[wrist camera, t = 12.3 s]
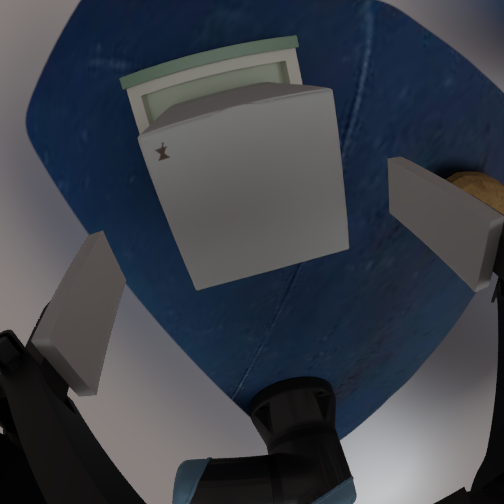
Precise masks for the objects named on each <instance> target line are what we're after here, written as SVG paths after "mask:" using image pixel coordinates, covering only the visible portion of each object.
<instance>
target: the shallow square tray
mask: <svg viewBox="0 0 504 504" xmlns="http://www.w3.org/2000/svg"><path fill="white" fill-rule="evenodd" d="M297 47H299V44H298V40H297V35H296V36H287V37H280V38H272V39H266V40H259V41H253V42H248V43H242V44H237V45H232V46H227V47H223V48H218V49H214V50H209V51H205V52H201V53H197V54H193V55H190V56H186V57H182V58H179V59H175V60H172V61H169V62H165V63H162V64H159V65H156V66H153V67H150V68H147V69H144V70H141V71H138V72H135V73H132V74H130V75H127V76H124V77H122V78H120V81H121V85H122V89H127V93H128V96H129V100H130V103H131V107H132V110H133V114H134V117H135V120H136V124H137V127H138V130H139V133H140V134H141V133H142V132H143V131H144V130H146V129H147V128H148V127H149V126H150V125H151V124H152V123H153V122H154V121H155V120H156V119H157V118H158V117H159V116H160V115H161V114H162V113H164V112H165V111H166V110H167V109H168V108H169V107H170V106H172V105H175V104H178V103H181V102H185V101H188V100H191V99H195V98H199V97H202V96H206V95H210V94H213V93H217V92H221V91H225V90H229V89H234V88H238V87H242V86H247V85H252V84H257V83H262V82H273V83H287V84H299V85H302V80H301V75H300V70H299V65H298V60H297V55H296V50H295V48H297Z"/></svg>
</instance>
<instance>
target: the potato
mask: <svg viewBox="0 0 504 504" xmlns="http://www.w3.org/2000/svg"><path fill="white" fill-rule="evenodd" d="M445 180H446V181H448V182H450V183H452V184H453V185H455V186H457V187H459V188H460V189H462V190H464V191H465V192H467V193H469V194H470V195H473V196H475V197H476V198H478V199H480V200H481V201H483V203H486V204H488V205H489V206H490V207H492V208H494V209H495V210H497V211H498V212H500V213H501V214H503V215H504V185H503V184H502V183H501V182H500V181H498V180H496V179H494V178H492V177H490V176H488V175H486V174H485V173H480V172H457V173H455V174H453V175H452V176H450V177H448V178H447V179H445Z"/></svg>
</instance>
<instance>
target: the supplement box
mask: <svg viewBox="0 0 504 504" xmlns="http://www.w3.org/2000/svg"><path fill="white" fill-rule="evenodd" d="M138 142H139V145H140V148H141V151H142V154H143V157H144V159H145V162H146V165H147V168H148V171H149V174H150V176H151V179H152V182H153V184H154V187H155V190H156V192H157V195H158V198H159V200H160V203H161V205H162V208H163V210H164V213H165V216H166V218H167V221H168V223H169V226H170V228H171V231H172V233H173V236H174V238H175V241H176V243H177V246H178V248H179V250H180V253H181V255H182V258H183V260H184V263H185V265H186V267H187V270H188V272H189V274H190V277H191V279H192V281H193V284H194V286H195V289H196V290H201V289H204V288H208V287H212V286H215V285H219V284H223V283H227V282H230V281H234V280H238V279H242V278H245V277H249V276H253V275H257V274H260V273H264V272H268V271H272V270H275V269H279V268H282V267H286V266H290V265H293V264H297V263H300V262H304V261H308V260H311V259H315V258H318V257H322V256H325V255H329V254H333V253H336V252H340V251H343V250H347V249H349V240H348V223H347V214H346V202H345V191H344V181H343V172H342V162H341V153H340V144H339V135H338V127H337V119H336V111H335V104H334V97H333V91H332V89H330V88H325V87H318V86H309V85H299V84H287V83H273V82H262V83H257V84H252V85H247V86H242V87H238V88H234V89H229V90H225V91H221V92H217V93H213V94H210V95H206V96H202V97H199V98H195V99H191V100H188V101H185V102H181V103H178V104H175V105H172V106H170V107H169V108H168V109H167V110H166V111H165V112H164V113H162V114H161V115H160V116H159V117H158V118H157V119H156V120H155V121H154V122H153V123H152V124H151V125H150V126H149V127H148V128H147V129H146V130H144V131H143V132H142V133H141V134H140V135H139V136H138Z"/></svg>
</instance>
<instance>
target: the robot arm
mask: <svg viewBox="0 0 504 504" xmlns="http://www.w3.org/2000/svg"><path fill="white" fill-rule="evenodd" d="M388 178H389V213H391V214H392V215H393V216H394V217H395V218H396V219H398V220H399V221H400V222H401V223H402V224H403V225H405V226H406V227H407V228H408V229H409V230H410V231H411V232H413V233H414V234H415V235H416V236H417V237H418V238H419V239H420V240H422V241H423V242H424V243H425V244H426V245H427V246H428V247H429V248H430V249H431V250H432V251H433V252H435V253H436V254H437V255H438V256H439V257H440V258H441V259H442V260H443V261H444V262H445V263H446V264H447V265H448V266H449V267H450V268H451V269H452V270H453V271H454V272H455V273H456V274H457V275H458V276H459V277H460V278H461V279H462V280H463V281H464V282H465V283H466V284H467V285H468V286H469V287H470V288H471V289H472V290H473V291H474V292H477V291H479V290H481V289H483V288H485V287H487V286H489V283H490V280H491V276H492V272H494V273H495V274H497V275H498V276H499V277H498V281H497V284H496V287H495V291H494V294H493V297H492V301H491V302H494V301H495V298H496V297H497V303H498V368H497V369H498V370H497V383H496V395H495V403H494V412H493V419H492V425H491V431H490V437H489V442H488V448H487V452H486V456H485V458H484V461H483V462H482V464H481V466H480V468H479V470H478V471H477V474H476V476H475V478H474V481H473V484H472V487H471V491H469V492H466V490H465V487H463V488H461V489H459V490H458V491H456V492H454V493H452V494H451V495H449V496H447V497H445V498H444V499H442V500H440V501H438V502H436V503H434V504H504V215H503V214H501V213H500V212H498V211H497V210H495V209H494V208H492V207H490V206H489V205H488V204H486V203H483V201H481V200H480V199H478V198H476V197H475V196H473V195H470V194H469V193H467V192H465V191H464V190H462V189H460V188H459V187H457V186H455V185H453V184H452V183H450V182H448V181H446V180H445V179H443V178H441V177H439V176H437V175H436V174H434V173H432V172H430V171H428V170H426V169H424V168H423V167H421V166H419V165H417V164H415V163H413V162H411V161H409V160H407V159H405V158H403V157H395V158H390V159H388ZM125 283H126V279H125V277H124V275H123V273H122V271H121V269H120V267H119V264H118V262H117V260H116V258H115V256H114V254H113V252H112V250H111V248H110V245H109V243H108V241H107V239H106V237H105V234H104V232H103V231H100V232H97V233H94V234H91V235H89V236H88V237H87V239H86V240H85V242H84V244H83V245H82V247H81V248H80V250H79V252H78V253H77V255H76V257H75V258H74V260H73V262H72V263H71V265H70V267H69V268H68V270H67V272H66V274H65V276H64V277H63V279H62V281H61V283H60V284H59V286H58V288H57V290H56V292H55V294H54V295H53V297H52V299H51V301H50V302H49V303H48V304H47V305H46V307H45V308H44V310H43V311H42V313H41V316H40V319H38V321H37V323H36V327H34V329H33V332H32V334H31V336H30V338H29V340H28V342H27V344H26V346H25V347H24V346H23V344H22V343H21V342H20V340H19V339H18V338H17V336H16V335H15V334H14V332H13V331H12V330H6V331H3V332H1V333H0V426H1V427H2V428H3V434H1V433H0V504H146V503H145V502H144V500H143V499H142V498H141V497H140V496H139V495H138V494H137V492H136V491H135V490H134V489H133V487H132V486H131V485H130V484H129V483H128V481H127V480H126V479H125V478H124V476H123V475H122V474H121V472H119V470H118V469H117V467H116V466H115V465H114V463H113V462H112V461H111V459H110V458H109V457H108V455H107V454H106V452H105V451H104V449H103V448H102V447H101V445H100V444H99V442H98V441H97V440H96V438H95V436H94V435H93V433H92V432H91V430H90V429H89V427H88V426H87V424H86V422H85V421H84V419H83V418H82V416H81V414H80V413H79V411H78V410H77V408H76V406H75V404H74V402H73V401H72V400H71V399H70V398H69V397H68V396H67V392H68V388H69V387H70V388H71V389H72V390H73V391H74V392H75V393H76V394H77V395H78V396H91V395H96V394H97V390H98V385H99V380H100V376H101V371H102V367H103V363H104V358H105V354H106V350H107V346H108V342H109V338H110V335H111V331H112V327H113V323H114V320H115V316H116V313H117V309H118V305H119V302H120V299H121V296H122V292H123V289H124V286H125ZM249 409H250V415H251V420H252V422H253V424H254V425H255V427H256V429H257V430H258V432H259V434H260V436H261V437H262V439H263V440H264V442H265V444H266V446H267V450H268V455H263V456H251V457H238V458H217V459H212V458H210V457H209V458H207V459H196V460H186V461H184V462H183V463H182V464H180V466H179V468H178V470H177V473H176V477H175V482H174V490H173V501H172V502H173V504H353V503H354V502H355V500H356V491H355V486H354V483H353V476H352V475H351V472H350V470H349V466H348V463H347V461H346V458H345V455H344V452H343V449H342V446H341V443H340V440H339V438H338V435H337V432H336V429H335V411H336V398H335V394H334V392H333V389H332V387H331V385H330V384H329V383H328V382H327V381H325V380H322V379H319V378H311V377H305V378H295V379H290V380H286V381H282V382H279V383H277V384H274V385H272V386H270V387H268V388H266V389H264V390H262V391H261V392H260V393H258V394H257V395H256V396H255V397H254V398H253V399H252V401H251V403H250V406H249Z"/></svg>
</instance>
